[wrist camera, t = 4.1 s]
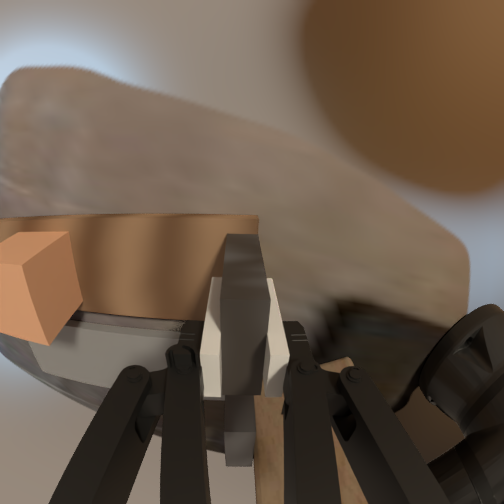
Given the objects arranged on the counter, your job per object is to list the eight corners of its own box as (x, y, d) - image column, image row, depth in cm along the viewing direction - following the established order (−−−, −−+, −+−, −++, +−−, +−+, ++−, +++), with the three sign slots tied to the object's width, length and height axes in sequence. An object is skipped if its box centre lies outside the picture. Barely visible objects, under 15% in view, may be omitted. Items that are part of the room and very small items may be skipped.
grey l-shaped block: (250, 334, 23) (257, 424, 14) (247, 393, 26) (251, 470, 17) (22, 310, 21) (-24, 363, 13) (46, 366, 24) (15, 419, 16)
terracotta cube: (68, 231, 18) (21, 265, 12) (83, 301, 20) (49, 346, 14) (18, 231, 17) (-27, 260, 12) (33, 294, 19) (-2, 331, 14)
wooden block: (269, 428, 29) (285, 577, 10) (247, 379, 25) (260, 585, 6) (350, 408, 28) (396, 551, 10) (349, 353, 24) (425, 544, 6)
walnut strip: (257, 215, 19) (272, 277, 11) (252, 314, 22) (259, 405, 14) (-2, 218, 18) (-67, 256, 9) (16, 294, 21) (-33, 345, 12)
